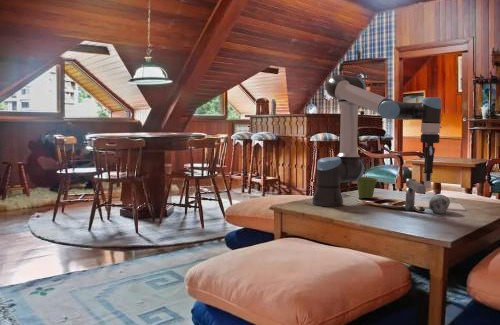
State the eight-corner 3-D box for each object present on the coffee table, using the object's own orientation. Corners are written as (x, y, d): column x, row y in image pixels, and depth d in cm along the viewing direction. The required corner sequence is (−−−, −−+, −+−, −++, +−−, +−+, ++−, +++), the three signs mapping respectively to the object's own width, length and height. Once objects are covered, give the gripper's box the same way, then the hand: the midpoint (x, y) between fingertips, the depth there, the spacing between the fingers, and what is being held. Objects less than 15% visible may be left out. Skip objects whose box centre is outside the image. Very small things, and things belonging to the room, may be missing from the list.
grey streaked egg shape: (451, 209, 202) (442, 188, 206) (430, 216, 206) (422, 196, 210) (456, 212, 214) (447, 192, 217) (436, 218, 218) (428, 199, 221)
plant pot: (379, 200, 242) (380, 179, 241) (357, 199, 242) (358, 179, 241) (373, 196, 254) (374, 177, 253) (352, 196, 254) (353, 176, 253)
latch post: (405, 210, 214) (406, 187, 213) (404, 208, 218) (406, 186, 217) (414, 211, 213) (415, 188, 212) (413, 209, 217) (414, 187, 216)
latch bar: (405, 185, 217) (405, 178, 217) (414, 186, 217) (415, 179, 216) (415, 193, 193) (416, 185, 193) (426, 193, 193) (427, 185, 192)
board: (416, 207, 222) (417, 206, 222) (414, 202, 239) (414, 200, 239) (465, 211, 216) (465, 209, 216) (459, 205, 233) (459, 203, 233)
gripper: (441, 134, 186) (438, 190, 188) (437, 133, 199) (434, 186, 201) (422, 133, 188) (419, 189, 190) (419, 133, 200) (416, 185, 203)
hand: (427, 188), depth 195 cm, fingers closed
